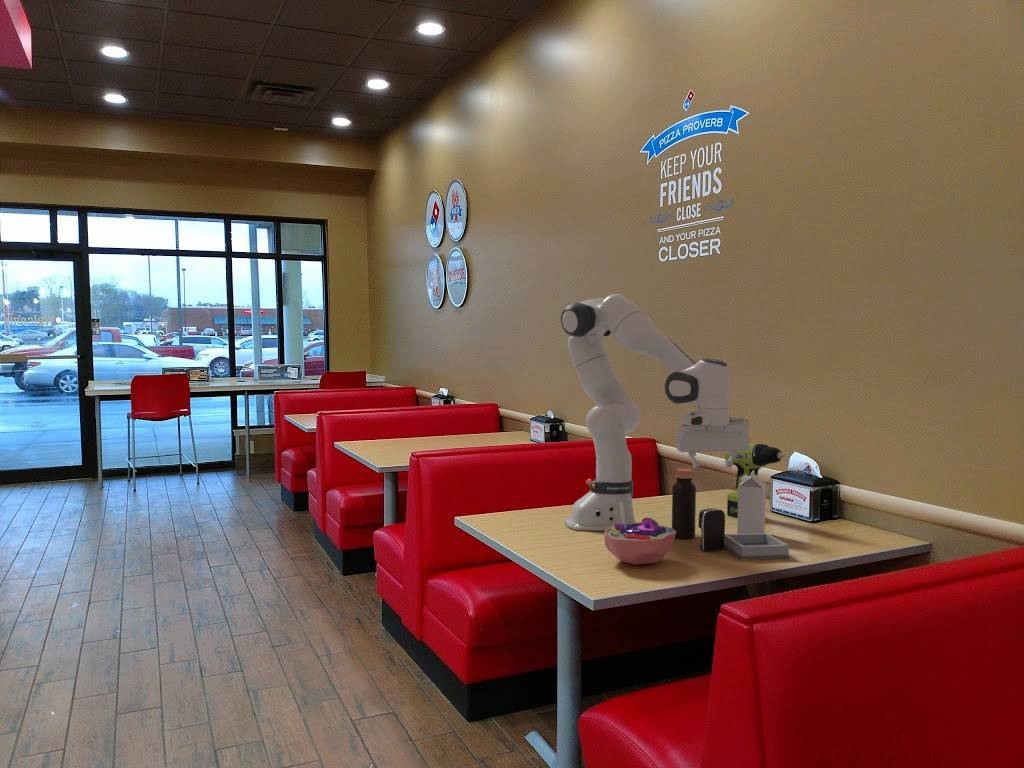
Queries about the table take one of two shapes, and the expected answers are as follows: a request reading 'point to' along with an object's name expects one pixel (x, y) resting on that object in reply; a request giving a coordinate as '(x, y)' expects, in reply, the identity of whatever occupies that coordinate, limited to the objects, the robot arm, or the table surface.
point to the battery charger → (712, 529)
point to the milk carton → (751, 505)
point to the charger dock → (756, 546)
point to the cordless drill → (750, 468)
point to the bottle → (684, 504)
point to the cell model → (639, 541)
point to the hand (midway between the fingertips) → (712, 467)
